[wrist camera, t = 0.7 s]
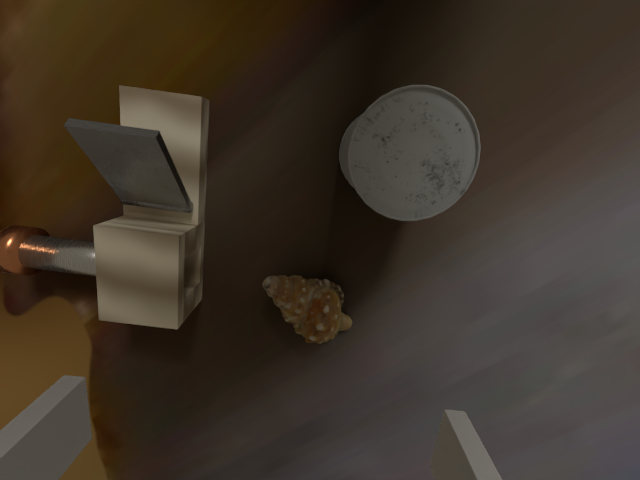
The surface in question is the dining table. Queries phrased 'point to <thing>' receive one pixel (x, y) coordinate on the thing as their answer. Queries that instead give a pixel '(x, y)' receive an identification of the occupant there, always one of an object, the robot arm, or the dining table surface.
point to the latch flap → (133, 164)
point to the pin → (43, 252)
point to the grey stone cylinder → (411, 152)
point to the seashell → (309, 306)
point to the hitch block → (157, 222)
